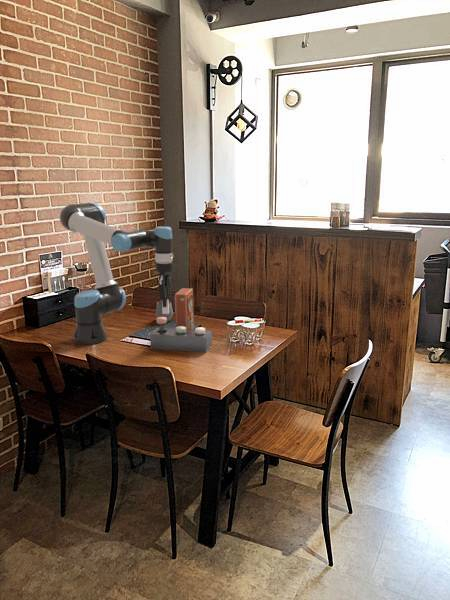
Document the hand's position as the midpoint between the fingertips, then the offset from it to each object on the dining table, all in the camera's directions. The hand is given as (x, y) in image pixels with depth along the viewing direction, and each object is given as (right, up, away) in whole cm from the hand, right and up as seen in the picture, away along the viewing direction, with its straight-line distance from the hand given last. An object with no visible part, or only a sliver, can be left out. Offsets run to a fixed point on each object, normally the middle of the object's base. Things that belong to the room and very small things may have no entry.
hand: (165, 313), depth 227 cm
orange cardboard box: (+7, -11, +22) cm, 25 cm away
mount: (+7, -15, +2) cm, 17 cm away
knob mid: (+7, -14, +2) cm, 16 cm away
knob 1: (-2, -10, +3) cm, 11 cm away
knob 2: (+16, -15, 0) cm, 22 cm away
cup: (-6, -5, +43) cm, 44 cm away
